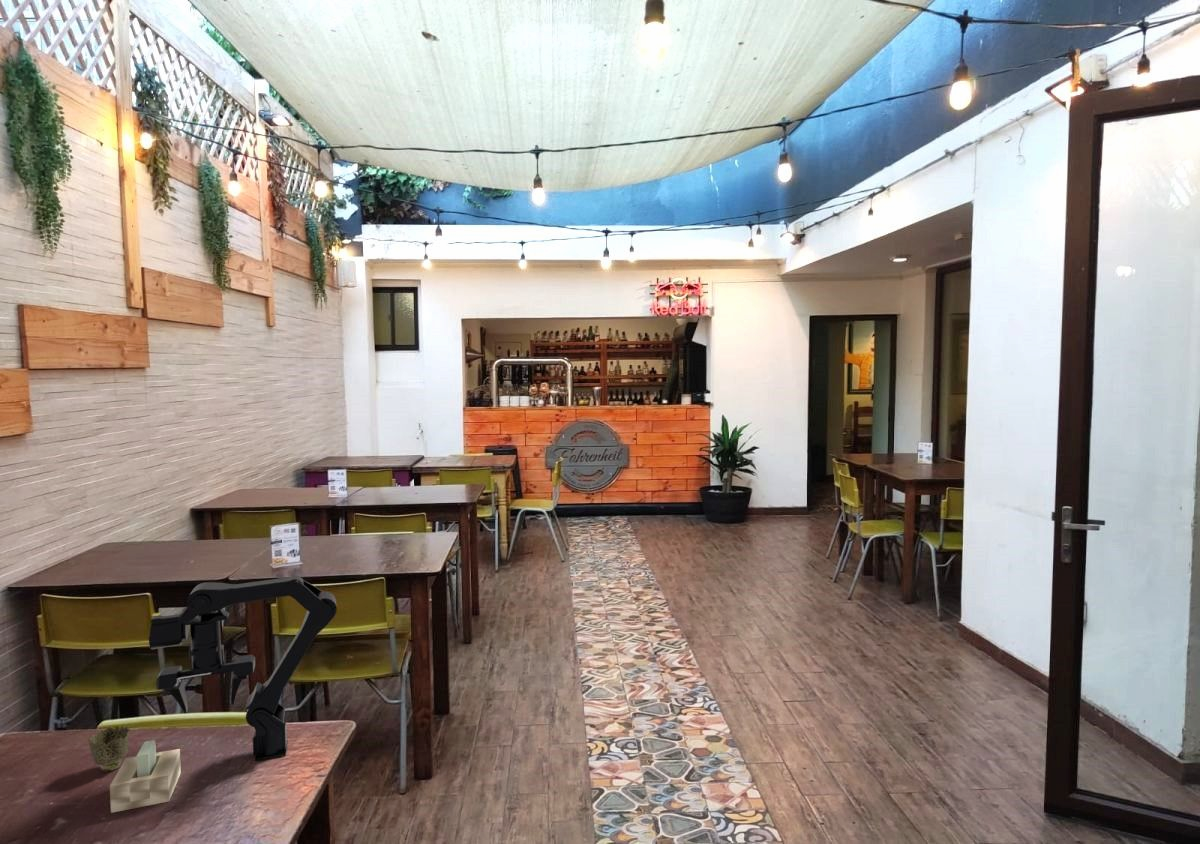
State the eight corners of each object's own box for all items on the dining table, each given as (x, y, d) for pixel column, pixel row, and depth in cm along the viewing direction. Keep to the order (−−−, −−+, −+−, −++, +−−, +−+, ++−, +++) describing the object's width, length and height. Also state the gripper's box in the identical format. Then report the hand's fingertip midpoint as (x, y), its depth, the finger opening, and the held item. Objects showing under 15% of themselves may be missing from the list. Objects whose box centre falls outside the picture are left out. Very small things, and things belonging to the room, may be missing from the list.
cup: (109, 779, 145) (107, 743, 145) (81, 775, 147) (79, 740, 147) (139, 760, 153) (138, 726, 152) (112, 757, 154) (111, 723, 154)
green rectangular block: (157, 775, 144) (155, 739, 144) (149, 791, 139) (148, 754, 138) (145, 777, 143) (144, 741, 143) (137, 793, 138) (136, 756, 137)
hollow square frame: (180, 772, 148) (179, 748, 148) (169, 801, 138) (168, 775, 137) (127, 782, 144) (126, 758, 144) (111, 812, 134) (109, 786, 134)
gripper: (255, 622, 161) (259, 685, 162) (165, 635, 154) (169, 701, 155) (251, 638, 151) (254, 705, 152) (153, 652, 144) (158, 723, 144)
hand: (209, 708), depth 151 cm, fingers open, 9 cm apart
